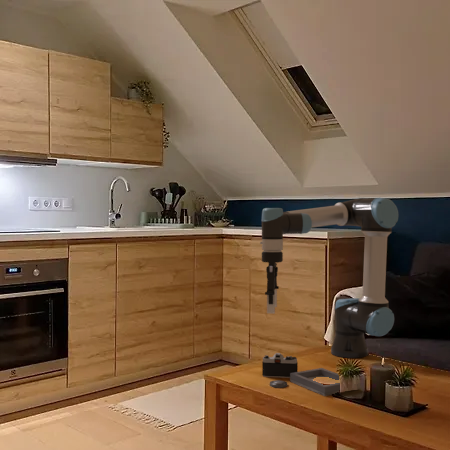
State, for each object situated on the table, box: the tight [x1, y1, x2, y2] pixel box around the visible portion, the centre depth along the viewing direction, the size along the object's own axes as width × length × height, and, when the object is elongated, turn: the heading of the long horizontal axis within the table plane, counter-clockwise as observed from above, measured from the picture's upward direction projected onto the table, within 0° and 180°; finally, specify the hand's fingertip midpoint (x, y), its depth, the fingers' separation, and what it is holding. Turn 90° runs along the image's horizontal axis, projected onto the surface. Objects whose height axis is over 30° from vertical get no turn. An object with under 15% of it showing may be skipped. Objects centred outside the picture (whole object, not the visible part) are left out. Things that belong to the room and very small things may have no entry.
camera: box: [261, 352, 299, 379], centre depth 222 cm, size 13×8×9 cm, turn 85°
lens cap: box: [269, 379, 288, 389], centre depth 209 cm, size 6×6×2 cm
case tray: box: [289, 367, 340, 397], centre depth 209 cm, size 14×19×3 cm
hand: (272, 310), depth 219 cm, fingers open, 13 cm apart
